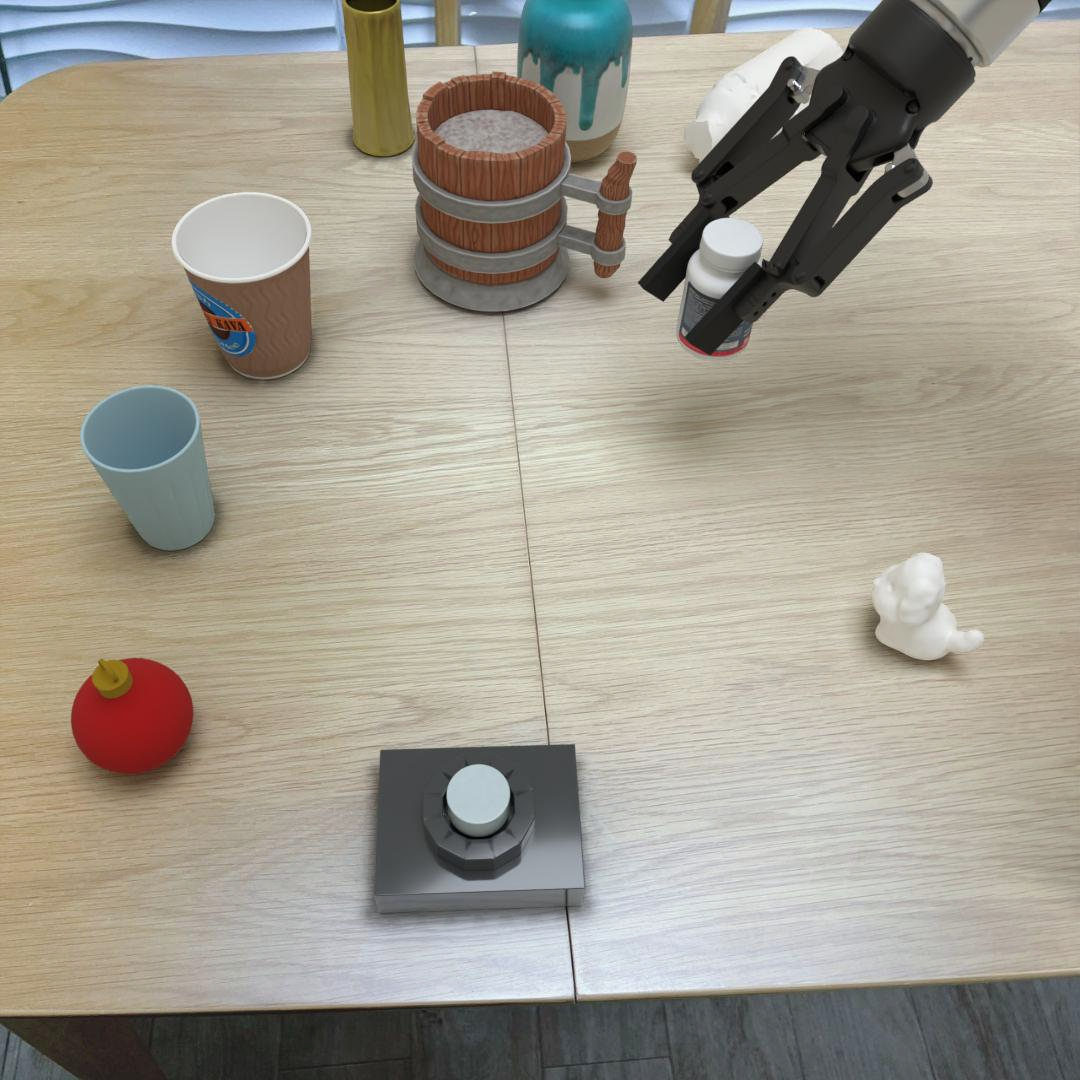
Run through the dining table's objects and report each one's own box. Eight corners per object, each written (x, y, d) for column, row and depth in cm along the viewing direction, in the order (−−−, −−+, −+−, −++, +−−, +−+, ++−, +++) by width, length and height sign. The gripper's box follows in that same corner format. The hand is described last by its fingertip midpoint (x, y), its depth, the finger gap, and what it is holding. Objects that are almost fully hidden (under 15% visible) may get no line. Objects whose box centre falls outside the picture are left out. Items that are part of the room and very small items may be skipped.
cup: (251, 502, 82) (222, 407, 73) (190, 579, 78) (152, 487, 69) (167, 467, 84) (129, 370, 75) (103, 541, 79) (55, 447, 71)
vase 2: (518, 114, 112) (522, -81, 97) (621, 119, 112) (641, -75, 97) (512, 177, 106) (515, -21, 91) (621, 183, 106) (643, -14, 91)
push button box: (572, 765, 70) (576, 730, 66) (581, 905, 65) (587, 877, 61) (384, 770, 70) (377, 736, 66) (378, 913, 64) (370, 885, 60)
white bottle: (659, 160, 109) (669, 86, 102) (775, 86, 117) (791, 14, 110) (722, 196, 105) (736, 122, 99) (836, 118, 114) (856, 45, 107)
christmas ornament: (226, 739, 71) (191, 662, 62) (133, 815, 67) (84, 744, 59) (161, 672, 73) (119, 590, 65) (68, 741, 70) (13, 664, 62)
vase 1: (373, 115, 111) (359, -26, 100) (426, 132, 110) (417, -9, 98) (341, 146, 108) (322, 4, 97) (395, 164, 107) (382, 22, 95)
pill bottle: (752, 364, 77) (778, 264, 70) (678, 363, 77) (696, 262, 70) (743, 313, 80) (768, 212, 73) (672, 311, 80) (690, 210, 73)
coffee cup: (180, 348, 91) (143, 231, 81) (280, 291, 95) (256, 174, 86) (255, 415, 87) (225, 300, 77) (356, 352, 91) (339, 236, 82)
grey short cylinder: (508, 777, 65) (509, 762, 63) (510, 836, 63) (510, 822, 61) (447, 779, 65) (446, 764, 63) (447, 838, 62) (446, 824, 61)
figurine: (861, 589, 79) (894, 522, 73) (971, 624, 78) (1015, 559, 71) (847, 649, 76) (879, 585, 70) (961, 686, 75) (1005, 625, 68)
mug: (452, 198, 104) (446, 48, 92) (644, 251, 100) (665, 102, 88) (387, 289, 96) (371, 139, 84) (592, 351, 92) (607, 203, 80)
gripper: (1058, 140, 65) (775, 421, 73) (865, -5, 74) (633, 259, 82) (1026, 78, 59) (722, 391, 67) (821, -71, 68) (576, 221, 76)
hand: (674, 318), depth 75 cm, fingers closed on pill bottle, 5 cm apart
